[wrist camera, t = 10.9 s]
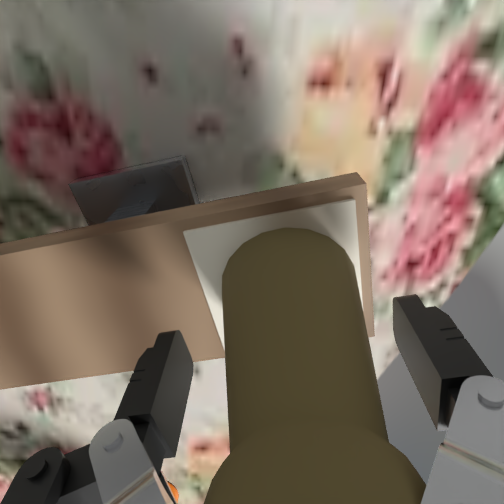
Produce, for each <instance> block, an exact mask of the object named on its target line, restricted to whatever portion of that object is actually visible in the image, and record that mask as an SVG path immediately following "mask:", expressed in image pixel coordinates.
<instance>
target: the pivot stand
mask: <svg viewBox="0 0 504 504" xmlns="http://www.w3.org/2000/svg"><path fill="white" fill-rule="evenodd" d="M68 185H69V187H70V189H71V191H72V193H73V195H74V197H75V199H76V201H77V203H78V205H79V207H80V209H81V211H82V213H83V215H84V217H85V219H86V221H87V223H88V225H89V226H91V225H96V224H101V223H106V222H110V221H115V220H120V219H125V218H130V217H135V216H140V215H145V214H150V213H155V212H160V211H165V210H170V209H175V208H180V207H185V206H190V205H195V204H200V203H199V200H198V196H197V193H196V190H195V187H194V184H193V180H192V177H191V174H190V171H189V168H188V164H187V161H186V158H185V155H183V156H179V157H174V158H170V159H165V160H161V161H156V162H151V163H147V164H142V165H138V166H133V167H129V168H124V169H119V170H115V171H110V172H106V173H101V174H97V175H92V176H87V177H83V178H78V179H75V180H74V181H72V182H71V183H69V184H68Z"/></svg>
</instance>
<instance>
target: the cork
mask: <svg viewBox="0 0 504 504" xmlns="http://www.w3.org/2000/svg"><path fill="white" fill-rule="evenodd" d="M222 307H223V326H224V345H225V363H226V382H227V401H228V420H229V439H230V454H229V456H228V457H227V458H226V459H225V461H224V462H223V463H222V465H221V466H220V468H219V470H218V471H217V473H216V474H215V476H214V478H213V479H212V482H211V485H210V487H209V490H208V493H207V496H206V499H205V502H204V504H421V501H422V498H423V495H424V492H425V489H426V486H427V485H426V484H425V482H424V481H423V479H422V478H421V476H420V475H419V473H418V472H417V470H416V469H415V468H414V467H413V465H412V464H411V462H410V461H409V460H408V458H407V457H406V456H405V455H404V454H403V453H402V452H400V451H399V450H398V449H396V448H395V447H394V446H393V445H392V444H390V443H389V440H388V435H387V430H386V425H385V420H384V415H383V410H382V405H381V400H380V394H379V389H378V384H377V379H376V374H375V369H374V364H373V359H372V354H371V349H370V344H369V339H368V334H367V328H366V323H365V318H364V313H363V308H362V303H361V298H360V293H359V288H358V283H357V278H356V273H355V267H354V264H353V263H352V261H351V259H350V258H349V256H348V254H347V253H346V251H345V249H344V248H342V247H341V246H340V245H339V244H337V243H336V242H335V241H334V240H332V239H331V238H330V237H329V236H326V235H323V234H320V233H318V232H315V231H312V230H310V229H302V228H285V227H284V228H280V229H276V230H271V231H267V232H263V233H260V234H259V235H257V236H255V237H253V238H252V239H250V240H248V241H246V242H244V243H243V244H242V245H241V246H240V247H239V248H238V249H237V250H236V251H235V252H234V254H233V255H232V256H231V257H230V258H229V260H228V262H227V265H226V267H225V269H224V272H223V274H222Z"/></svg>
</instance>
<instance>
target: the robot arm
mask: <svg viewBox="0 0 504 504" xmlns="http://www.w3.org/2000/svg"><path fill="white" fill-rule="evenodd" d="M393 331H394V337H395V341H396V344H397V346H398V349H399V351H400V353H401V355H402V357H403V359H404V361H405V364H406V366H407V367H408V370H409V372H410V374H411V376H412V378H413V380H414V383H415V385H416V387H417V389H418V391H419V393H420V395H421V398H422V399H423V402H424V404H425V406H426V408H427V410H428V412H429V414H430V417H431V419H432V421H433V423H434V425H435V427H436V429H437V431H443V430H447V433H446V436H445V439H444V442H443V443H441V444H440V446H439V449H438V452H437V455H436V458H435V461H434V464H433V467H432V470H431V473H430V476H429V480H428V483H427V486H426V489H425V492H424V495H423V498H422V501H421V504H504V381H502V380H499V379H497V378H494V377H493V376H492V374H491V373H490V372H489V370H488V369H487V368H486V366H485V365H484V363H483V362H482V361H481V359H480V358H479V356H478V355H477V354H476V352H475V351H474V350H473V348H472V347H471V345H470V344H469V343H468V341H467V340H466V339H464V336H463V334H462V333H461V332H460V330H459V329H457V326H456V325H455V323H454V322H453V321H452V319H451V318H450V316H449V315H447V314H446V313H444V312H443V311H441V310H440V309H438V308H437V307H435V306H434V307H428V308H425V306H424V305H423V303H422V302H421V300H420V299H419V297H418V296H417V295H416V294H414V295H407V296H401V297H394V298H393ZM192 376H193V360H192V357H191V354H190V352H189V350H188V347H187V345H186V343H185V340H184V338H183V335H182V333H181V332H180V330H174V331H167V332H161V333H159V334H158V336H157V338H156V341H155V344H154V347H151V348H147V349H146V351H145V352H144V353H143V354H142V355H141V357H140V358H139V359H138V361H137V364H136V366H135V369H134V373H133V374H132V376H131V379H130V383H129V384H128V386H127V388H126V391H125V393H124V396H123V398H122V401H121V403H120V406H119V408H118V411H117V413H116V416H115V418H114V420H113V421H112V422H110V423H108V424H106V425H105V426H104V427H102V428H101V429H100V430H99V431H98V432H97V433H96V435H95V436H94V438H93V439H92V441H91V443H90V444H88V445H86V446H84V447H82V448H79V449H77V450H75V451H72V452H70V453H68V454H65V455H64V454H63V453H62V452H61V451H60V450H59V449H58V448H54V447H50V448H46V449H43V450H41V451H39V452H37V453H36V454H34V455H33V456H31V457H30V458H29V459H28V460H27V461H26V462H25V463H24V464H23V465H22V466H21V468H20V469H19V470H18V472H17V474H16V476H15V477H14V479H13V481H12V483H11V485H10V487H9V489H8V490H7V492H6V494H5V496H4V498H3V500H2V502H1V504H178V503H177V501H176V499H175V497H174V495H173V493H172V491H171V489H170V487H169V485H168V482H167V480H166V478H165V476H164V474H163V472H162V471H161V467H162V463H163V459H164V458H172V457H175V456H176V451H177V446H178V442H179V437H180V432H181V428H182V423H183V418H184V414H185V409H186V404H187V399H188V395H189V390H190V385H191V381H192Z"/></svg>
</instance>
